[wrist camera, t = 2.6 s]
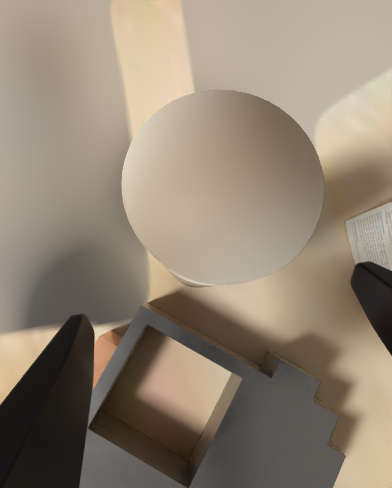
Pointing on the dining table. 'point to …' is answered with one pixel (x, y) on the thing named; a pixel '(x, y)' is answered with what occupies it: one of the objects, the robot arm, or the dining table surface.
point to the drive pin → (222, 187)
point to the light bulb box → (372, 236)
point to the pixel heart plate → (214, 423)
